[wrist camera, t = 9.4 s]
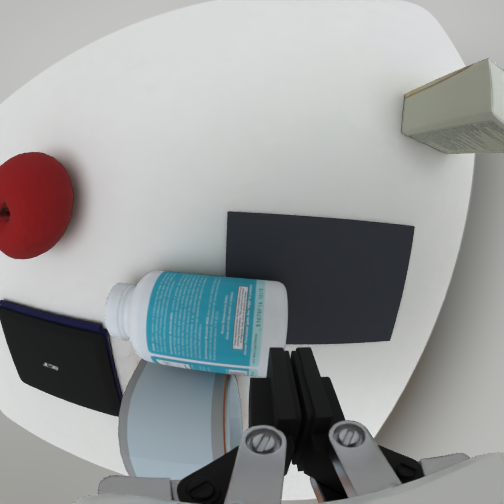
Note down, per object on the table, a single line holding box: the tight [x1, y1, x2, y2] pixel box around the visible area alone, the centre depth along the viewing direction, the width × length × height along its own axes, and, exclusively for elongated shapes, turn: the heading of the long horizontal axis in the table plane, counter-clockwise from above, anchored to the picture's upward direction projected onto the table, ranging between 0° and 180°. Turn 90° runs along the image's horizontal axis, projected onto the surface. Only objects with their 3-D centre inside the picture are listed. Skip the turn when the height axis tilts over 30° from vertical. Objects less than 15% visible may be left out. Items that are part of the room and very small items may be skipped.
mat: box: [226, 212, 415, 344], centre depth 24 cm, size 17×12×1 cm
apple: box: [0, 152, 73, 259], centre depth 17 cm, size 9×9×10 cm
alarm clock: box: [118, 359, 243, 480], centre depth 21 cm, size 15×8×14 cm, turn 4°
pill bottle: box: [105, 271, 288, 377], centre depth 21 cm, size 8×7×14 cm
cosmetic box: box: [401, 58, 504, 154], centre depth 15 cm, size 6×4×12 cm
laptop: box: [0, 300, 122, 417], centre depth 26 cm, size 16×20×2 cm
